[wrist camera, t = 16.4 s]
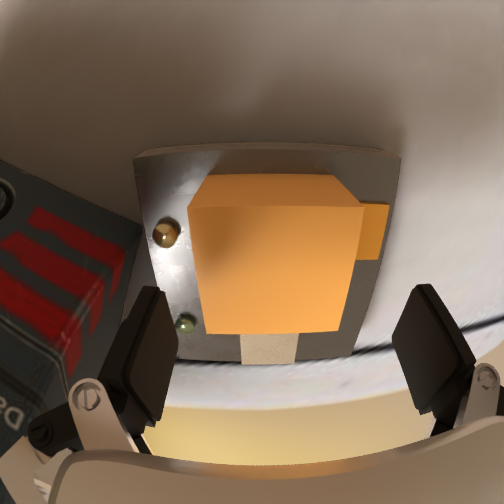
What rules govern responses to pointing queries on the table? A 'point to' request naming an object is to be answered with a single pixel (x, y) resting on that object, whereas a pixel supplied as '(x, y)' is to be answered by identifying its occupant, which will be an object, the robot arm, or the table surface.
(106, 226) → the power unit
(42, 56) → the table surface
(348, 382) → the table surface
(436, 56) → the table surface
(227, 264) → the cap
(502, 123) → the table surface
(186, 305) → the panel
